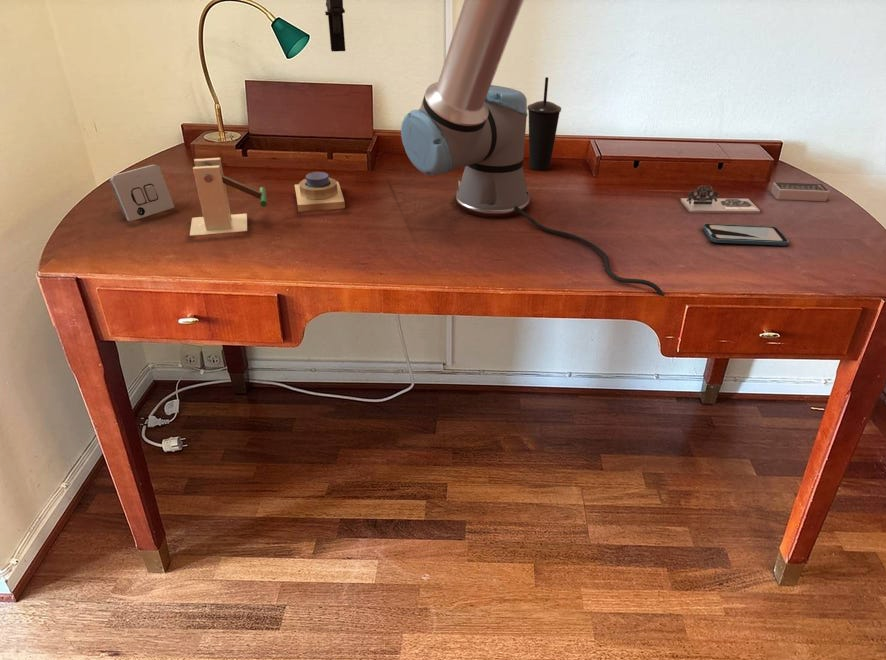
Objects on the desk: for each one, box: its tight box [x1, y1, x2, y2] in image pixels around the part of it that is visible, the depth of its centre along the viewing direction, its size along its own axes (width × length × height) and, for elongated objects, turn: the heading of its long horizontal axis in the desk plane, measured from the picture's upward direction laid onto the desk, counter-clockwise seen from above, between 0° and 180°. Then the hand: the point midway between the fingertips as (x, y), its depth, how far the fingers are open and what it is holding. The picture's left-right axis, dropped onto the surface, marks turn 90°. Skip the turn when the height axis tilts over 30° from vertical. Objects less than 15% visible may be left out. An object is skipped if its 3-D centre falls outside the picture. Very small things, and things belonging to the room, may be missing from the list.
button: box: [305, 171, 330, 188], centre depth 137 cm, size 4×4×2 cm
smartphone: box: [702, 223, 790, 246], centre depth 132 cm, size 7×1×15 cm
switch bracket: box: [189, 157, 248, 237], centre depth 125 cm, size 10×8×13 cm
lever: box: [202, 162, 268, 208], centre depth 124 cm, size 12×7×2 cm, turn 108°
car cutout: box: [680, 185, 761, 214], centre depth 144 cm, size 15×7×4 cm, turn 94°
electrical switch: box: [108, 164, 175, 222], centre depth 130 cm, size 9×5×9 cm, turn 141°
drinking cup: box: [527, 76, 562, 171], centre depth 156 cm, size 8×8×20 cm
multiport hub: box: [770, 181, 830, 202], centre depth 151 cm, size 4×11×2 cm, turn 89°
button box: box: [294, 177, 346, 213], centre depth 138 cm, size 9×11×4 cm
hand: (338, 50), depth 137 cm, fingers closed
